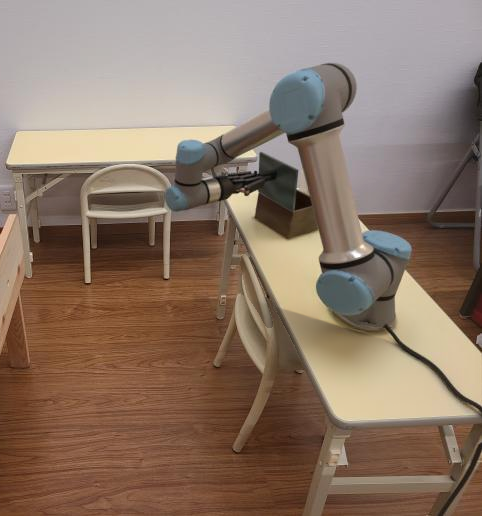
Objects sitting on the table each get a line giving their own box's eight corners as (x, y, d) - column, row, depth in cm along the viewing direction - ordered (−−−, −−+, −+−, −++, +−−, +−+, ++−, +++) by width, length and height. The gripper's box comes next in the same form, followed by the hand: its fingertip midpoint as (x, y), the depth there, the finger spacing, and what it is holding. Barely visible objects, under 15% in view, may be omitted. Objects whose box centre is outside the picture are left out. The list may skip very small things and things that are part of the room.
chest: (283, 209, 178) (288, 184, 173) (318, 229, 166) (324, 203, 161) (254, 217, 173) (258, 192, 167) (287, 239, 160) (293, 212, 155)
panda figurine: (323, 210, 178) (333, 171, 170) (291, 209, 178) (299, 170, 170) (315, 196, 188) (324, 158, 180) (285, 194, 188) (292, 157, 180)
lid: (261, 151, 158) (259, 152, 158) (298, 169, 146) (296, 170, 146) (259, 190, 167) (257, 191, 167) (294, 210, 155) (292, 211, 155)
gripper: (200, 192, 152) (259, 177, 162) (226, 209, 142) (287, 193, 152) (202, 169, 148) (262, 156, 157) (229, 185, 138) (292, 170, 148)
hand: (274, 174), depth 155 cm, fingers closed
